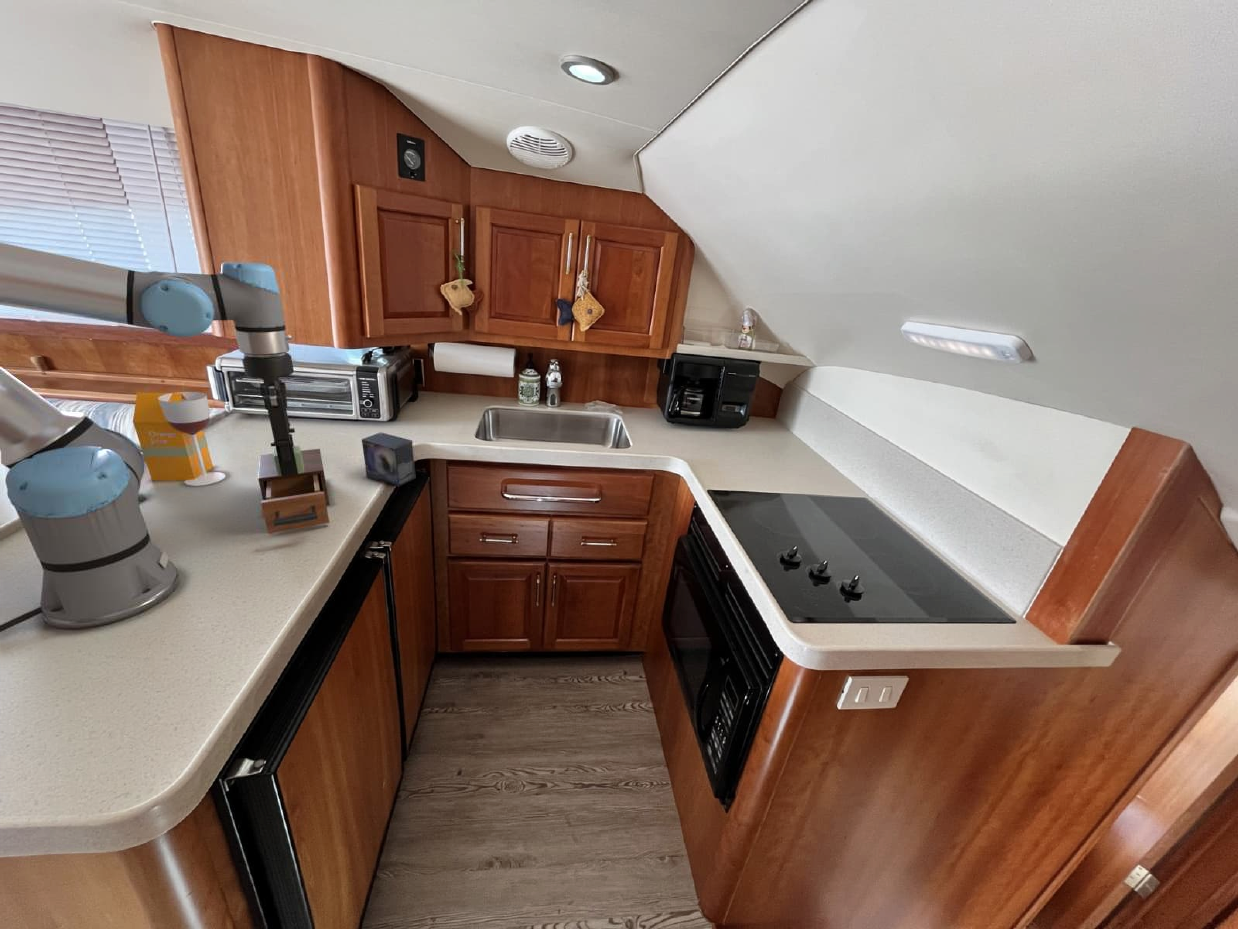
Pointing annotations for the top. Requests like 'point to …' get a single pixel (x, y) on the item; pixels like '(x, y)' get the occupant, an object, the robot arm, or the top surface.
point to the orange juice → (167, 442)
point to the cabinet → (311, 467)
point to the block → (297, 457)
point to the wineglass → (190, 426)
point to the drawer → (294, 504)
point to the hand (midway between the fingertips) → (289, 469)
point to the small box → (389, 458)
